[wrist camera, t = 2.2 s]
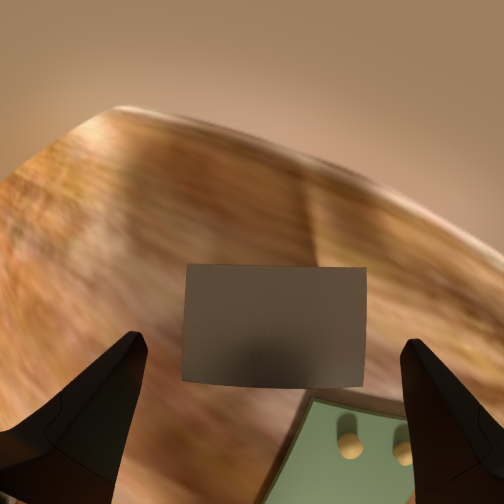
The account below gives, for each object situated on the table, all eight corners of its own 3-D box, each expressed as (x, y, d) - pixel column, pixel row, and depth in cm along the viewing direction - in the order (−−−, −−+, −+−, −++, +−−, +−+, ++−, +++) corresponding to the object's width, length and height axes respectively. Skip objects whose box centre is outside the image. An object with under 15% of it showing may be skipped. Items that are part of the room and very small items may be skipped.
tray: (379, 527, 14) (387, 544, 11) (256, 511, 16) (253, 531, 13) (440, 421, 16) (457, 431, 13) (311, 396, 18) (316, 408, 15)
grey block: (320, 352, 18) (362, 386, 9) (228, 349, 19) (182, 381, 9) (321, 291, 19) (366, 265, 9) (231, 288, 20) (187, 261, 10)
